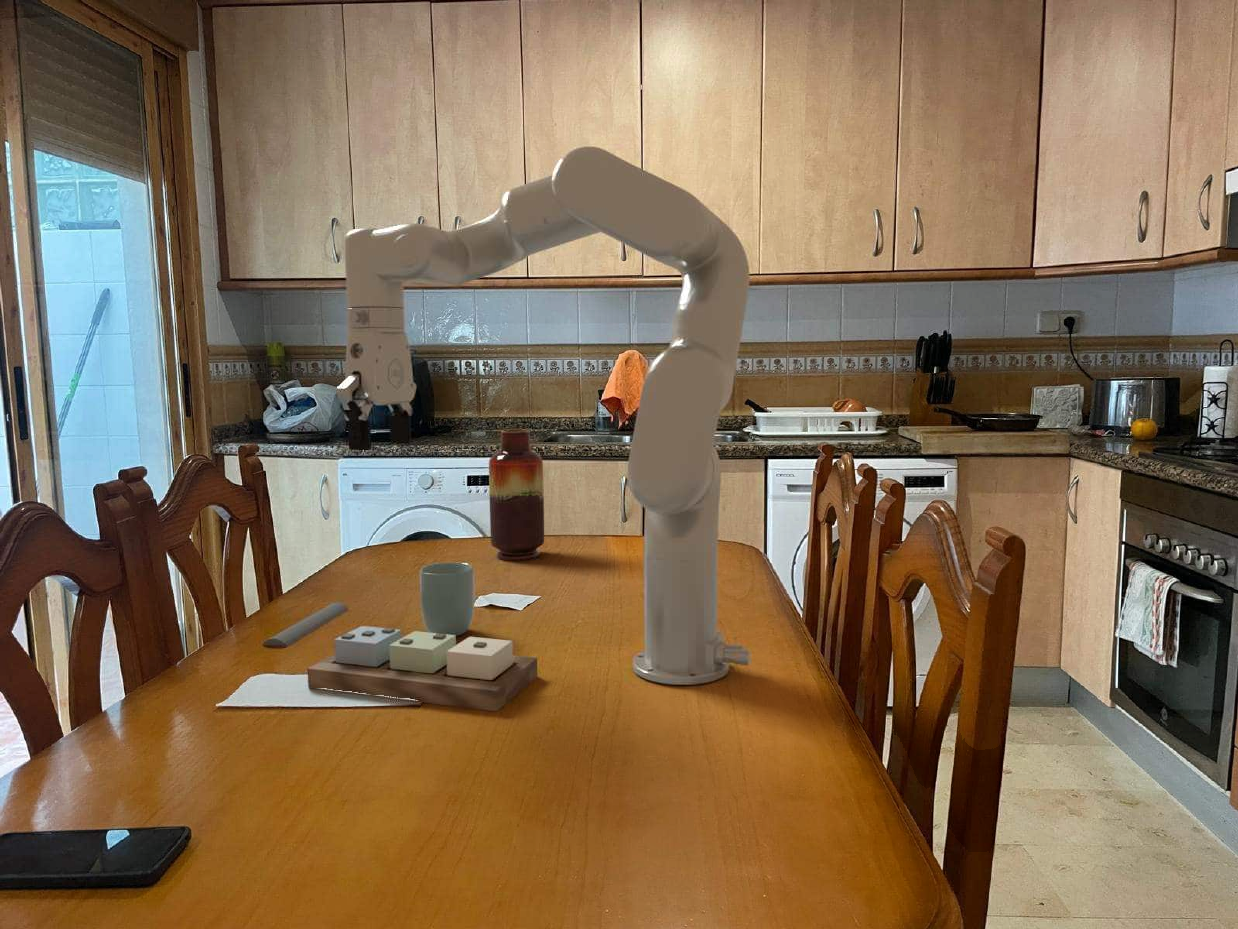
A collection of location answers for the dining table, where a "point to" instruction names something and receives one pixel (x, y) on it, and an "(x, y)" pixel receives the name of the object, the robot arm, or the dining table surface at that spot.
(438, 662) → the tile
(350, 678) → the board
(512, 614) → the dining table surface
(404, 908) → the dining table surface
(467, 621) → the cup
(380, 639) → the tile
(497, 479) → the vase
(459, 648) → the tile
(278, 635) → the gray half cylinder
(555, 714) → the dining table surface
